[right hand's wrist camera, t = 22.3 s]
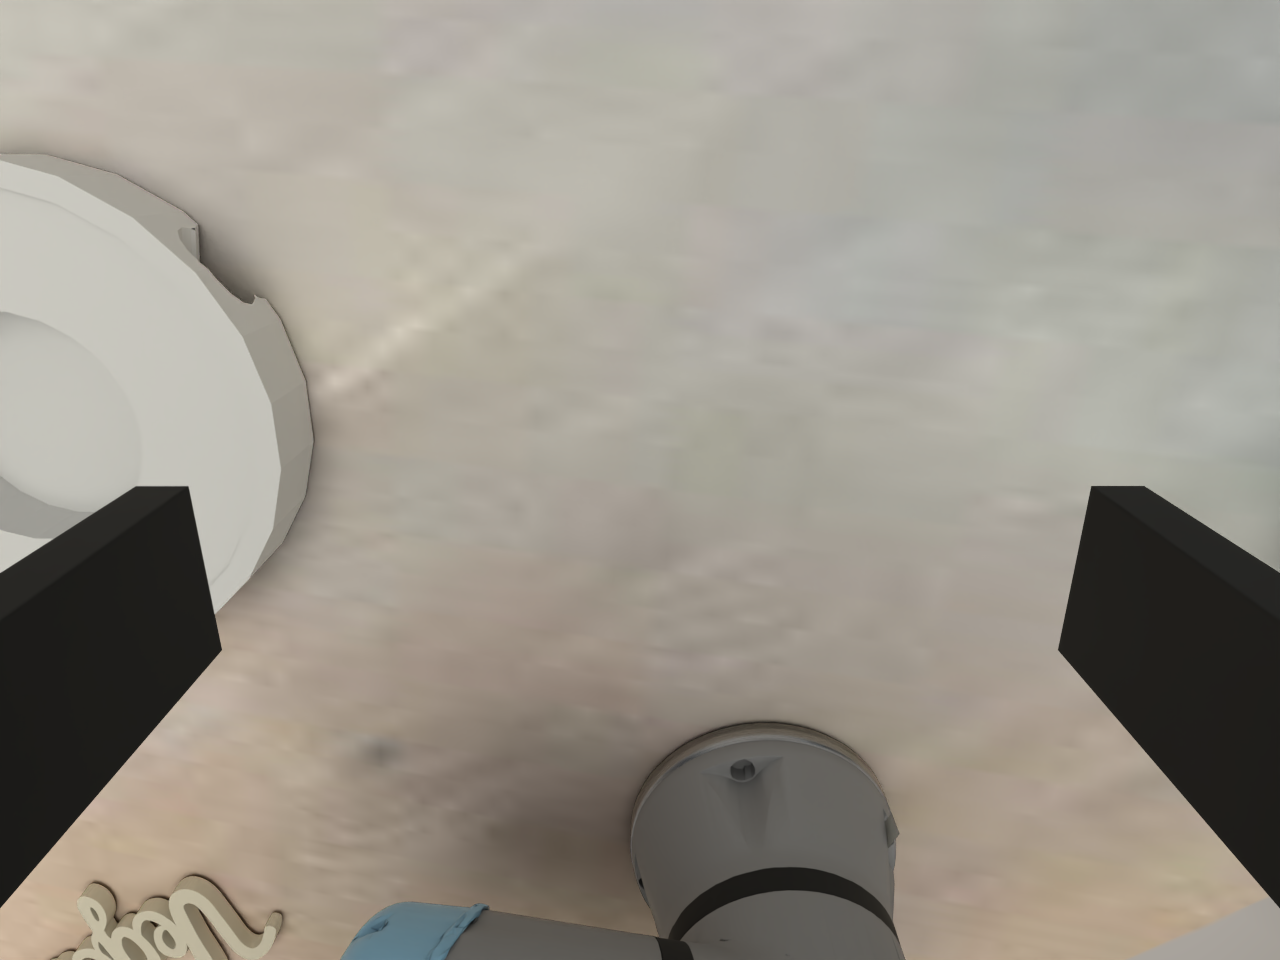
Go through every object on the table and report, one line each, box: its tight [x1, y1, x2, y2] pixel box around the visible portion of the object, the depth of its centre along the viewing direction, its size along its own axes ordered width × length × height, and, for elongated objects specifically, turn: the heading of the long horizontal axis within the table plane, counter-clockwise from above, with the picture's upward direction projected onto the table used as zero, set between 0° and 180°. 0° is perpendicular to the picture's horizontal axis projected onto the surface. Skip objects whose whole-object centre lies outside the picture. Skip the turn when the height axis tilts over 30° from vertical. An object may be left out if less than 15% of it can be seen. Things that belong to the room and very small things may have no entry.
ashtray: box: [0, 154, 314, 614], centre depth 39 cm, size 23×23×4 cm
